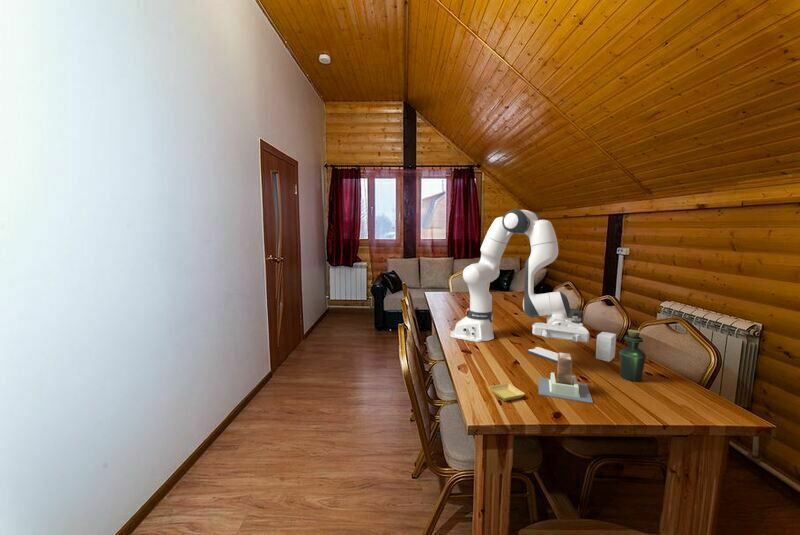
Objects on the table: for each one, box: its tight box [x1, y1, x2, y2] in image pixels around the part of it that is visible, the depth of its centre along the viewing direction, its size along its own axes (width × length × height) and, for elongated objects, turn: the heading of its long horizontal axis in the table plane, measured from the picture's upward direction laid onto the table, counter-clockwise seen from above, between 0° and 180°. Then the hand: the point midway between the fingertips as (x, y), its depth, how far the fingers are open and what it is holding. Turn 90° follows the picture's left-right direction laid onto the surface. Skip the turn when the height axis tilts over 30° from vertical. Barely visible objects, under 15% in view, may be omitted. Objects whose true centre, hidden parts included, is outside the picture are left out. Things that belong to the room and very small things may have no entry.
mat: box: [537, 376, 594, 404], centre depth 116 cm, size 16×14×1 cm
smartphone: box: [526, 346, 559, 364], centre depth 148 cm, size 9×2×16 cm
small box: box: [595, 331, 617, 362], centre depth 145 cm, size 8×6×10 cm
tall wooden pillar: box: [556, 352, 573, 385], centre depth 115 cm, size 4×6×11 cm, turn 158°
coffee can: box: [567, 308, 584, 324], centre depth 175 cm, size 10×10×14 cm
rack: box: [549, 371, 580, 398], centre depth 116 cm, size 9×10×3 cm
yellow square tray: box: [488, 382, 526, 402], centre depth 112 cm, size 9×9×2 cm
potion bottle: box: [618, 329, 647, 382], centre depth 125 cm, size 8×8×18 cm
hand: (561, 337), depth 126 cm, fingers open, 8 cm apart
